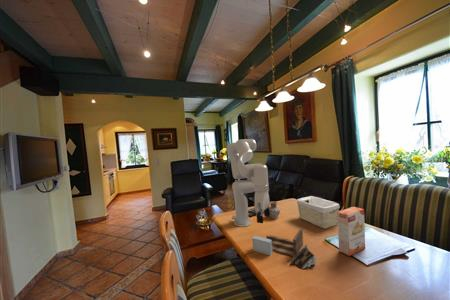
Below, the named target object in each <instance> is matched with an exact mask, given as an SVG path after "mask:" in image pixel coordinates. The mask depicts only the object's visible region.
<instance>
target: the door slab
mask: <svg viewBox="0 0 450 300" xmlns="http://www.w3.org/2000/svg"><path fill="white" fill-rule="evenodd" d="M251 242H252V252H257V253H261V254H263V255H267V256H272V254H273V252H274V251H272V240H270V239H266V237H265V238H264V237H262V236H257V235H253V236H252V241H251Z"/></svg>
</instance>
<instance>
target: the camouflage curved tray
mask: <svg viewBox="0 0 450 300" xmlns="http://www.w3.org/2000/svg"><path fill="white" fill-rule="evenodd" d="M316 262H317V257H316V255H315V254H314V253H312V252H311V251H310V250H309V247H308V244H306V245H304V247H302V248H301V250H300V252H299V253H298V254H297V255H296V256H295V257H292V258H291V260H290V264H292V265H296V266H297V268H299V269H301V270H304V269H305V268H309V269H311V268H312V267H311V265H312V266H315V265H316V264H317V263H316Z"/></svg>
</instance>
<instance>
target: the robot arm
mask: <svg viewBox="0 0 450 300" xmlns="http://www.w3.org/2000/svg"><path fill="white" fill-rule="evenodd" d="M256 150H257V142H256V140H255V139H253V138H244V139H237V140H236V142H230V143H229V144H227V145H226V154H227V156H228V158H229V160H230V164H231V165H230V167H231V172H232V173H231V174H232V177H233V179H236V181H234V182H232V185H231V189H232V192H233V199H234V211H235V214H234V215H232V216H231V220H233V224H234V226H237V227H240V228H241V227H248V226H250V225H251V223H252V222H251V220H250V219H249V206H248V205H249V203H248V202H249V201H248V198H247V197H246V195H244V194H248V193H254V205H255V207H254V210H255V211H254V212H255V215H256V222H257V223H258V224H263V223H264V217H268V218H269V217H270V218H271V216H270V210H269V209H270V207H271V204H270V202H271V201H270V200H271V199H270V195H269V192H270V187H269V185H270V184H269V173H268V167H267V165H266V164H262V163H247V162H249V161H250V160H251V159H252V158H253V157H254V153H253V152H255V151H256ZM245 163H247V164H245ZM241 179H243V180H241ZM244 179H245V180H244ZM259 211H261V213H260V212H259ZM263 211H264V214H262V212H263Z"/></svg>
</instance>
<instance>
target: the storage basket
mask: <svg viewBox="0 0 450 300" xmlns="http://www.w3.org/2000/svg"><path fill="white" fill-rule="evenodd" d="M307 201H308V202H307ZM296 203H297V209H298V215H299V218H300V219H301V220H304V221H306V222H309V223H310V224H312V225H314V226H318V227H320V228H321V229H325V230H326V229H328V228H332V227H335V226H338V212H339V211H340V210H339V209H340V208H341V206H340V204H339V203H337V202H335V201H331V200H327V199H324V198H321V197H317V196H313V195H310V196H305V197H301V198H297V200H296Z"/></svg>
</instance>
